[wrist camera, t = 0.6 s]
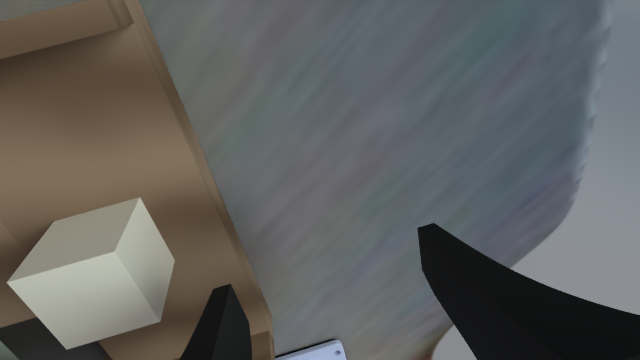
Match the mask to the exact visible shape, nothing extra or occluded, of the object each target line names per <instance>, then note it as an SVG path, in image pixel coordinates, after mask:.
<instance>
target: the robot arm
mask: <svg viewBox="0 0 640 360" xmlns="http://www.w3.org/2000/svg"><path fill="white" fill-rule="evenodd" d="M418 237H419V246H420V255H421V264H422V271H423V273H424V275H425V277H426V279H427V281H428V283H429V285H430V287H431V289H432V291H433V292H434V294H435V296H436V298H437V299H438V301H439V302H440V304H441V305H442V307H443V308H444V310H445V311H446V313H447V314H448V316H449V317H450V319H451V320H452V322H453V323H454V325H455V326H456V328H457V329H458V331H459V332H460V334H461V335H462V337H463V338H464V340H465V341H466V343H467V344H468V346H469V347H470V349H471V350H472V352H473V353H474V355H475V357H476V358H477V360H640V315H636V314H632V313H628V312H624V311H621V310H617V309H614V308H610V307H607V306H604V305H600V304H597V303H594V302H591V301H587V300H584V299H581V298H578V297H576V296H573V295H570V294H567V293H564V292H562V291H559V290H556V289H554V288H551V287H549V286H546V285H544V284H541V283H539V282H537V281H535V280H532V279H530V278H528V277H526V276H523V275H521V274H519V273H517V272H515V271H513V270H511V269H509V268H507V267H505V266H503V265H501V264H500V263H498V262H496V261H494V260H492V259H491V258H489V257H487V256H485V255H484V254H482V253H480V252H479V251H477V250H475V249H474V248H472V247H470V246H469V245H467V244H465V243H464V242H462V241H461V240H459V239H458V238H456V237H455V236H453V235H452V234H450V233H449V232H447V231H445V230H444V229H442V228H441V227H439V226H438V225H436V224H435V223H432V224H429V225H426V226H422V227H419V228H418ZM179 360H252V345H251V335H250V326H249V321H248V319H247V317H246V315H245V313H244V311H243V308H242V306H241V304H240V302H239V300H238V298H237V296H236V294H235V292H234V289H233V287H232V285H231V284H228V285H224V286H221V287H218V288H214V289H213V291H212V292H211V294H210V297H209V299H208V301H207V304H206V306H205V308H204V310H203V313H202V315H201V317H200V319H199V321H198V324H197V326H196V328H195V330H194V332H193V334H192V336H191V338H190V340H189V342H188V344H187V346H186V348H185V350H184V352H183V354H182V355H181V357H180V359H179ZM275 360H346V356H345V353H344V350H343V346H342V343H341V341H339V340H333V341H330V342H327V343H323V344H320V345H317V346H314V347H310V348H307V349H304V350H301V351H298V352H294V353H291V354H288V355H285V356H281V357H278V358H275Z"/></svg>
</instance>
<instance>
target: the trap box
mask: <svg viewBox="0 0 640 360" xmlns="http://www.w3.org/2000/svg"><path fill="white" fill-rule="evenodd" d="M139 197H140V198H141V200H142V202H143V204H144V205H145V207H146V209H147V211H148V213H149V214H150V216H151V218H152V220H153V222H154V224H155V225H156V227H157V229H158V231H159V233H160V234H161V236H162V238H163V240H164V242H165V243H166V245H167V247H168V249H169V251H170V252H171V254H172V256H173V258H174V260H175V262H174V266H173V270H172V275H171V279H170V283H169V287H168V291H167V296H166V300H165V304H164V308H163V312H162V317H161V321H160V322H158V323H154V324H151V325H148V326H144V327H141V328H138V329H134V330H131V331H128V332H124V333H121V334H118V335H114V336H111V337H108V338H104V339H101V340H98V341H94V342H91V343H88V344H84V345H81V346H77V347H74V348H71V349H67V350H66V348H65V347H64V346H63V345H62V344H61V343H60V342H59V341H58V339H57V338H56V337H55V336H54V335H53V334H52V333H51V332H50V331H49V329H48V328H47V327H46V326H45V325H44V324H43V323H42V322H41V320H40V319H39V318H38V317H37V316H36V315H35V314H34V313H33V311H32V310H31V309H30V308H29V307H28V306H27V305H26V304H25V303H24V301H23V300H22V299H21V298H20V297H19V296H18V295H17V294H16V292H15V291H14V290H13V289H12V288H11V287H10V286H9V285H8V283H7V281H8V280H9V279H10V278H11V276H12V275H13V274H14V272H15V271H16V270H17V269H18V267H19V266H20V265H21V263H22V262H23V261H24V259H25V258H26V257H27V256H28V254H29V253H30V252H31V250H32V249H33V248H34V247H35V245H36V244H37V243H38V241H39V240H40V239H41V238H42V236H43V235H44V234H45V232H46V231H47V230H48V228H49V227H50V226H51V225H52V223H53V222H54V221H57V220H60V219H64V218H67V217H71V216H75V215H78V214H82V213H85V212H89V211H92V210H96V209H99V208H103V207H107V206H110V205H114V204H117V203H121V202H124V201H128V200H131V199H135V198H139ZM228 284H231V285H232V287H233V289H234V292H235V294H236V296H237V298H238V300H239V302H240V304H241V306H242V308H243V311H244V313H245V315H246V317H247V319H248V321H249V326H250V335H251V345H252V360H275V351H274V340H273V328H272V317H271V313H270V311H269V309H268V306H267V304H266V302H265V299H264V297H263V294H262V292H261V290H260V287H259V285H258V283H257V280H256V278H255V275H254V273H253V271H252V268H251V266H250V264H249V261H248V259H247V256H246V254H245V252H244V249H243V247H242V245H241V242H240V240H239V237H238V235H237V233H236V230H235V228H234V226H233V223H232V221H231V218H230V216H229V214H228V211H227V209H226V207H225V204H224V202H223V199H222V197H221V195H220V192H219V190H218V188H217V185H216V183H215V180H214V178H213V176H212V173H211V171H210V169H209V166H208V164H207V161H206V159H205V157H204V154H203V152H202V150H201V147H200V145H199V142H198V140H197V138H196V135H195V133H194V131H193V128H192V126H191V123H190V121H189V119H188V116H187V114H186V112H185V109H184V107H183V104H182V102H181V100H180V97H179V95H178V93H177V90H176V88H175V85H174V83H173V81H172V78H171V76H170V74H169V71H168V69H167V66H166V64H165V62H164V59H163V57H162V55H161V52H160V50H159V47H158V45H157V43H156V40H155V38H154V36H153V33H152V31H151V28H150V26H149V24H148V21H147V19H146V17H145V14H144V12H143V9H142V7H141V5H140V2H139V0H86V1H82V2H78V3H74V4H70V5H66V6H62V7H58V8H54V9H50V10H46V11H42V12H38V13H34V14H30V15H26V16H22V17H18V18H14V19H10V20H6V21H2V22H0V360H179V359H180V357H181V355H182V354H183V352H184V350H185V348H186V346H187V344H188V342H189V340H190V338H191V336H192V334H193V332H194V330H195V328H196V326H197V324H198V321H199V319H200V317H201V315H202V313H203V310H204V308H205V306H206V304H207V301H208V299H209V297H210V294H211V292H212V291H213V289H214V288H218V287H221V286H224V285H228Z"/></svg>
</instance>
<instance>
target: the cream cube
mask: <svg viewBox="0 0 640 360" xmlns="http://www.w3.org/2000/svg"><path fill="white" fill-rule="evenodd" d="M174 262H175V260H174V258H173V256H172V254H171V252H170V251H169V249H168V247H167V245H166V243H165V242H164V240H163V238H162V236H161V234H160V233H159V231H158V229H157V227H156V225H155V224H154V222H153V220H152V218H151V216H150V214H149V213H148V211H147V209H146V207H145V205H144V204H143V202H142V200H141V198H140V197H139V198H135V199H131V200H128V201H124V202H121V203H117V204H114V205H110V206H107V207H103V208H99V209H96V210H92V211H89V212H85V213H82V214H78V215H75V216H71V217H67V218H64V219H60V220H57V221H54V222H53V223H52V225H51V226H50V227H49V228H48V230H47V231H46V232H45V234H44V235H43V236H42V238H41V239H40V240H39V241H38V243H37V244H36V245H35V247H34V248H33V249H32V250H31V252H30V253H29V254H28V256H27V257H26V258H25V259H24V261H23V262H22V263H21V265H20V266H19V267H18V269H17V270H16V271H15V272H14V274H13V275H12V276H11V278H10V279H9V280H8V281H7V283H8V285H9V286H10V287H11V288H12V289H13V290H14V291H15V292H16V294H17V295H18V296H19V297H20V298H21V299H22V300H23V301H24V303H25V304H26V305H27V306H28V307H29V308H30V309H31V310H32V311H33V313H34V314H35V315H36V316H37V317H38V318H39V319H40V320H41V322H42V323H43V324H44V325H45V326H46V327H47V328H48V329H49V331H50V332H51V333H52V334H53V335H54V336H55V337H56V338H57V339H58V341H59V342H60V343H61V344H62V345H63V346H64V347H65V348H66V350H67V349H71V348H74V347H77V346H81V345H84V344H88V343H91V342H94V341H98V340H101V339H104V338H108V337H111V336H114V335H118V334H121V333H124V332H128V331H131V330H134V329H138V328H141V327H144V326H148V325H151V324H154V323H158V322H160V321H161V317H162V312H163V308H164V304H165V300H166V296H167V291H168V287H169V283H170V279H171V275H172V270H173V266H174Z"/></svg>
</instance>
